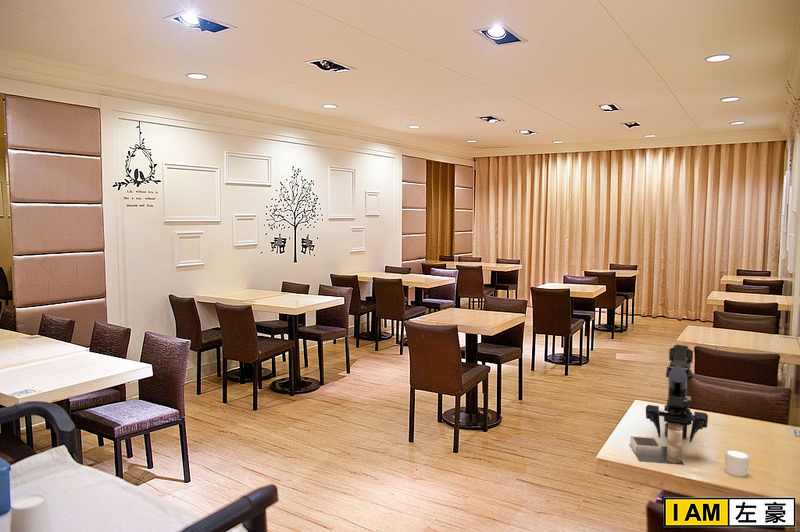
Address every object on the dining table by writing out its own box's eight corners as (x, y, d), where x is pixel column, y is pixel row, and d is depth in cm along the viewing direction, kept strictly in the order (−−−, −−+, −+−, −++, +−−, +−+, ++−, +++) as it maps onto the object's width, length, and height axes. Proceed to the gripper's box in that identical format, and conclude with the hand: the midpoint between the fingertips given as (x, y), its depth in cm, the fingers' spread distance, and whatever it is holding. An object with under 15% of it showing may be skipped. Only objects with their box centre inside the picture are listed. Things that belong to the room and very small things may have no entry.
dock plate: (672, 449, 196) (672, 438, 195) (684, 467, 182) (685, 456, 182) (629, 446, 198) (630, 436, 198) (638, 464, 185) (639, 452, 184)
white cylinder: (748, 482, 172) (750, 460, 171) (723, 476, 176) (724, 455, 175) (748, 473, 178) (750, 452, 177) (724, 468, 182) (725, 447, 181)
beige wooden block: (678, 457, 187) (680, 423, 186) (682, 463, 183) (684, 428, 182) (664, 456, 188) (666, 422, 187) (668, 462, 184) (670, 427, 182)
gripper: (647, 381, 192) (643, 423, 183) (709, 389, 183) (708, 433, 175) (647, 397, 200) (644, 438, 191) (707, 405, 191) (706, 448, 182)
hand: (674, 439), depth 185 cm, fingers open, 9 cm apart
